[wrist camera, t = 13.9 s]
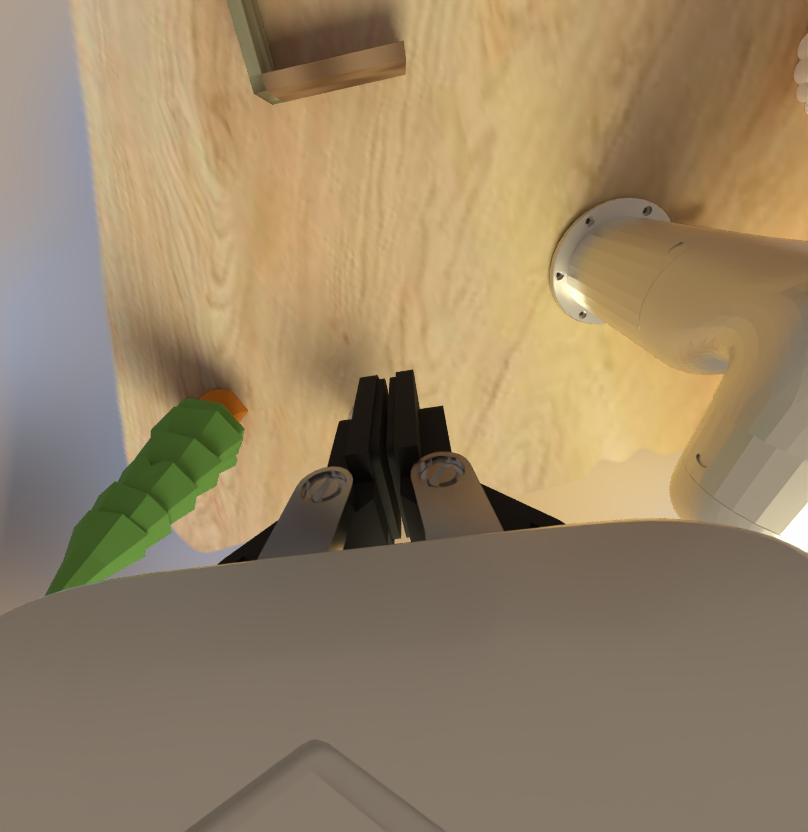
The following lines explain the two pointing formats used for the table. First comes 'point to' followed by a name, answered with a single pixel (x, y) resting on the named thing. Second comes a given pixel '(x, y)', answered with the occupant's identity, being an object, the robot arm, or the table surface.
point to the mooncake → (802, 72)
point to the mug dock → (309, 75)
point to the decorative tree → (155, 488)
